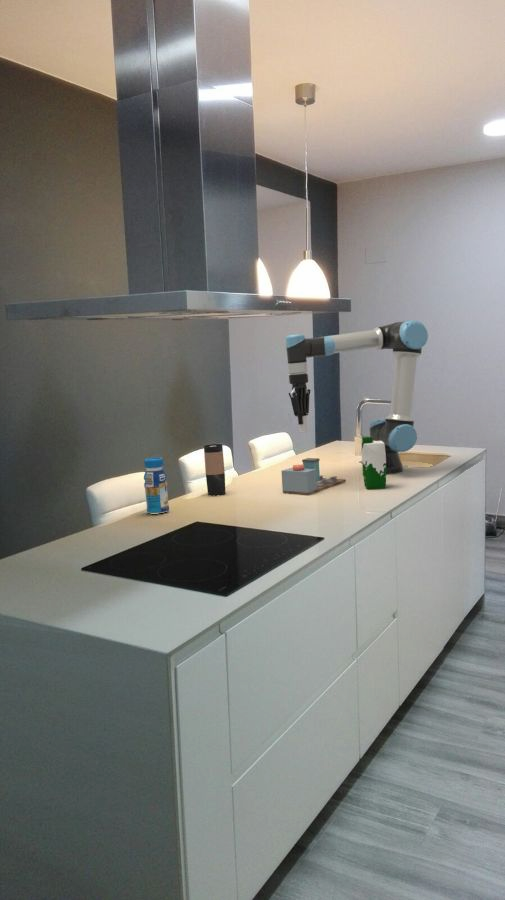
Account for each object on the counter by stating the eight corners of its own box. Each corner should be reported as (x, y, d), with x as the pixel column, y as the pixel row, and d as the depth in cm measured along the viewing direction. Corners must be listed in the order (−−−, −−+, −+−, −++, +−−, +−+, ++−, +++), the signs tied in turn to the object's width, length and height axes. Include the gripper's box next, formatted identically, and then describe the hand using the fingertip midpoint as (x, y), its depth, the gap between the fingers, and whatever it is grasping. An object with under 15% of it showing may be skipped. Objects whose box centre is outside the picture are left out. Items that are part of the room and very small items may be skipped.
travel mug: (227, 491, 294) (223, 443, 291) (224, 495, 286) (221, 446, 284) (208, 492, 295) (205, 444, 292) (205, 496, 287) (202, 447, 284)
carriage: (309, 483, 292) (308, 457, 291) (320, 484, 289) (319, 458, 288) (303, 485, 289) (302, 459, 288) (314, 486, 286) (313, 460, 284)
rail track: (321, 480, 305) (320, 473, 305) (345, 481, 298) (345, 474, 297) (282, 493, 284) (282, 485, 283) (308, 495, 276) (307, 487, 276)
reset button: (297, 473, 284) (296, 464, 284) (306, 474, 282) (306, 464, 281) (291, 475, 281) (290, 466, 281) (300, 476, 278) (299, 466, 278)
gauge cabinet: (292, 487, 288) (290, 467, 287) (317, 489, 281) (316, 469, 280) (282, 490, 283) (281, 470, 282) (308, 492, 276) (306, 472, 275)
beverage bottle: (143, 512, 266) (138, 458, 263) (165, 508, 269) (161, 456, 266) (150, 516, 258) (145, 461, 255) (172, 512, 261) (168, 458, 259)
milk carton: (362, 486, 287) (359, 436, 284) (385, 484, 286) (382, 434, 284) (365, 490, 278) (362, 439, 275) (388, 488, 278) (386, 437, 275)
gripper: (298, 372, 294) (303, 429, 297) (281, 375, 284) (286, 434, 287) (314, 371, 290) (319, 429, 293) (297, 374, 279) (302, 434, 283)
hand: (303, 432), depth 290 cm, fingers closed
